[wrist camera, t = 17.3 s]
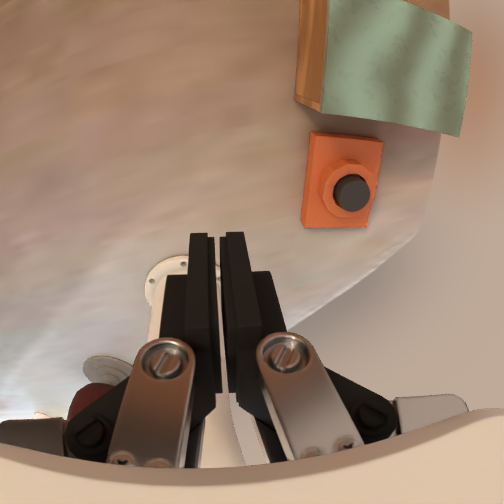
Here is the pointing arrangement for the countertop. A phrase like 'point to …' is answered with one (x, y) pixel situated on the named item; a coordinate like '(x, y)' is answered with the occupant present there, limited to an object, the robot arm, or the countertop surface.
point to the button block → (338, 178)
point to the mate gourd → (98, 381)
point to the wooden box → (311, 52)
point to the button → (352, 193)
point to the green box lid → (395, 65)
